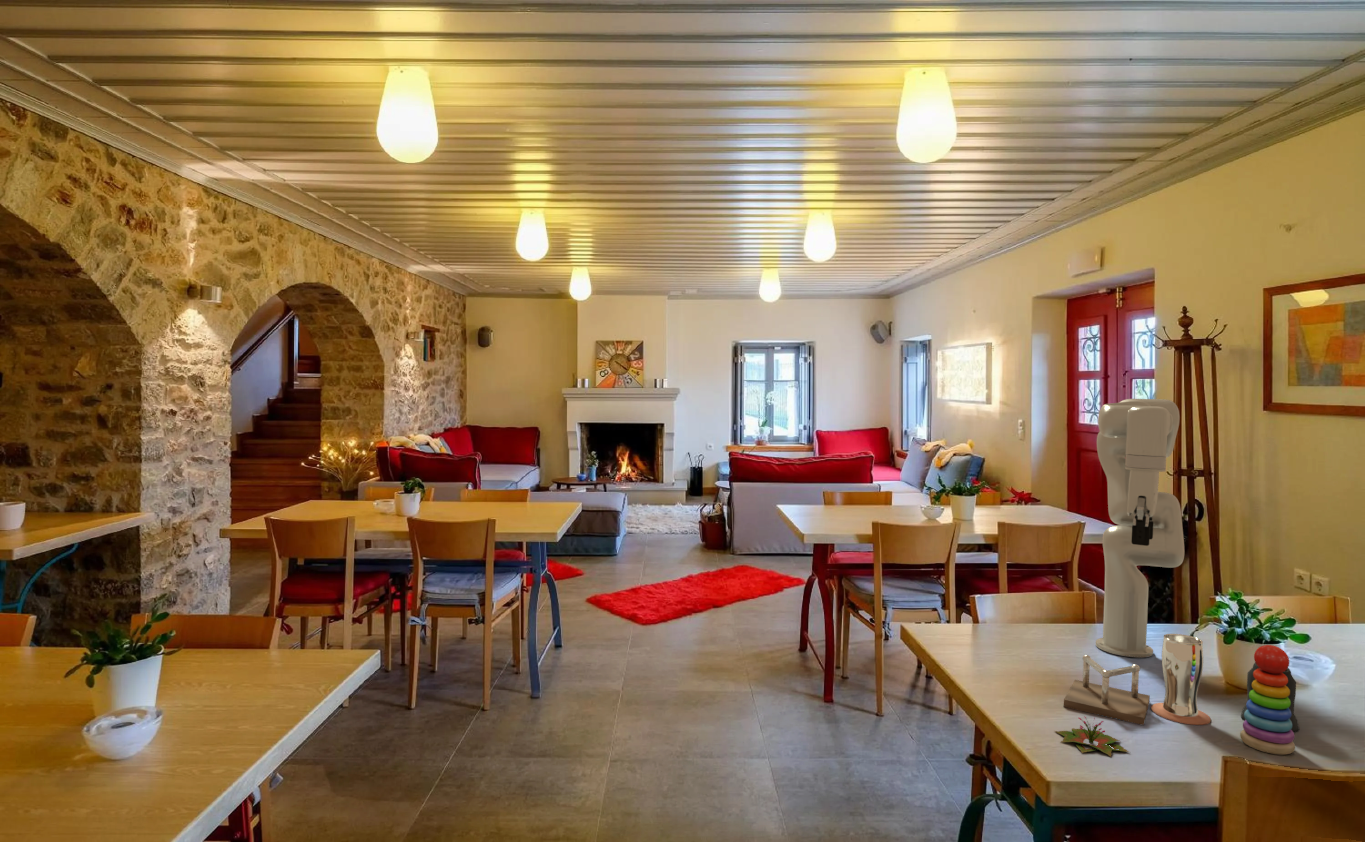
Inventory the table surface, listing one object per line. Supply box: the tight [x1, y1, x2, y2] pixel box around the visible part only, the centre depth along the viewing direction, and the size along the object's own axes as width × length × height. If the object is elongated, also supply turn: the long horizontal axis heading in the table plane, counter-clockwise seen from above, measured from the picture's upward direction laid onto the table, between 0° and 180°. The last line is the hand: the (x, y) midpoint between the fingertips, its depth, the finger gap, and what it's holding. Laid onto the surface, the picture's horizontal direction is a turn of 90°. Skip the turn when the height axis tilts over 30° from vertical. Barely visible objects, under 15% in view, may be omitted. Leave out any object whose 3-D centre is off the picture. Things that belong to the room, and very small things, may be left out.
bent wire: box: [1082, 654, 1141, 705], centre depth 155 cm, size 10×11×7 cm
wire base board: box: [1063, 679, 1151, 726], centre depth 155 cm, size 14×14×2 cm
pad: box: [1150, 702, 1211, 726], centre depth 151 cm, size 10×10×1 cm
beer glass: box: [1161, 633, 1204, 719], centre depth 151 cm, size 7×7×15 cm
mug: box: [1240, 662, 1300, 734], centre depth 149 cm, size 12×9×11 cm
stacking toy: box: [1239, 644, 1296, 756], centre depth 137 cm, size 8×8×19 cm
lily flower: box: [1054, 715, 1130, 757], centre depth 137 cm, size 12×12×5 cm
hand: (1142, 541), depth 164 cm, fingers open, 9 cm apart
